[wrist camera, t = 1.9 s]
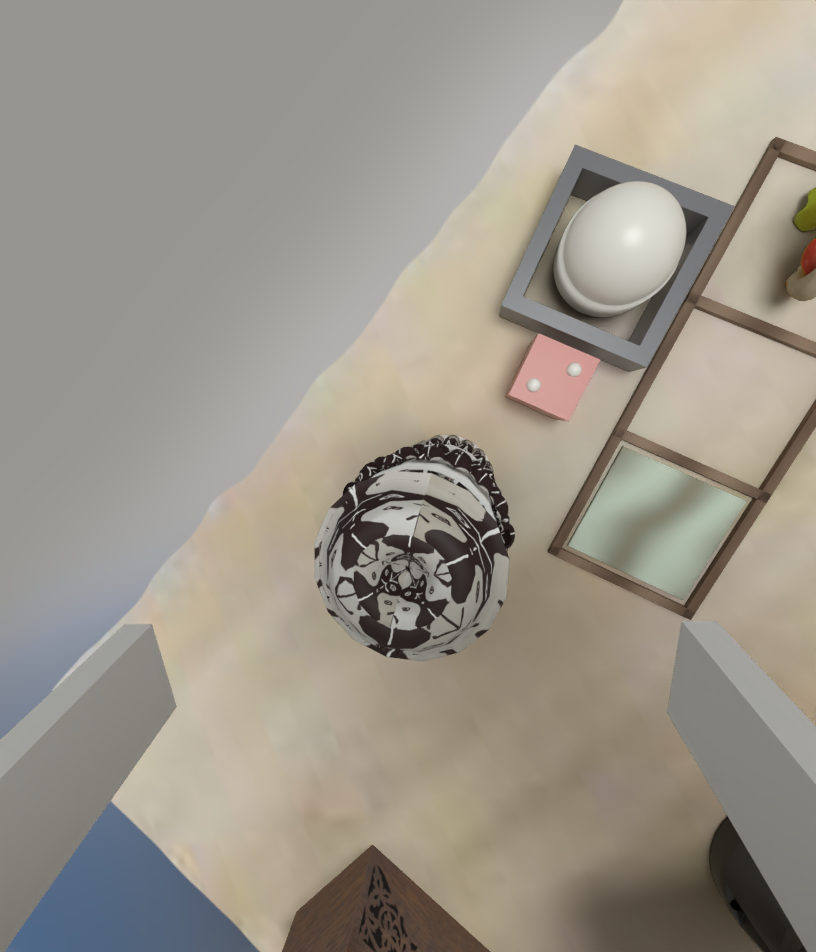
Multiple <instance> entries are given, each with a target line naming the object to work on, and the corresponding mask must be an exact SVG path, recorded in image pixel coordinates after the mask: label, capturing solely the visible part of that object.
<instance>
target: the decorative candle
mask: <svg viewBox="0 0 816 952" xmlns="http://www.w3.org/2000/svg"><path fill="white" fill-rule="evenodd" d="M507 514H508V505H507V502H506V500H505V498H504V497H503V496H502V494H501V491H500V489H499V488H498V487H497V485H496V483H495V479H494V474H493V468H492V465H491V463H490V462H489V460H488V457H487V456H486V455H485V453H484V452H483V451H482V450H481V449H480V448H479V447H478V446H477V445H476V444H475V443H473V442H471V441H470V440H467V439H465V438H462V437H460V436H456V435H437V436H434V437H433V438H431V439H429V440H426V441H421V442H419V443H418V444H416V445H413V446H412V447H403V448H401V449H399V450H397V451H396V452H395V453H393V454H391V455H387V456H386V457H378V458H377V459H375V461H374V462H370V463H368V464H366V465H365V466H364V467H363V469H362V470H361V471H360V473H359V476H358V477H357V478H356V479H355V481H354V482H350V483H348V484H347V485H346V486H345V488H344V491H343V496H342V497H341V498H340V499H339V500H338V501H337V502H336V503H335V504H334V505H332V506H331V507H330V508H329V510H328V512H327V514H326V517H325V519H324V521H323V524H322V526H321V529H320V531H319V533H318V536H317V538H316V540H315V580H316V582H317V585H318V588H319V590H320V593H321V595H322V598H323V600H324V603H325V605H326V608H327V610H328V612H329V613H330V614H331V616H332V617H333V618H334V619H335V620H336V621H337V622H338V623H339V624H340V625H341V627H342V628H343V629H344V630H345V631H346V632H347V633H348V634H349V635H350V636H351V638H352V639H353V640H355V641H357V642H359V643H361V644H363V645H365V646H367V647H369V648H371V649H373V650H374V651H376V652H378V653H380V654H382V655H384V656H386V657H393V658H401V659H409V660H417V661H427V660H431V659H435V658H438V657H442V656H446V655H450V654H454V653H458V652H460V651H461V650H463V649H464V648H465V647H467V646H468V645H469V644H471V643H472V642H473V641H475V640H476V639H477V638H479V637H480V636H481V635H483V634H484V633H485V632H487V631H488V630H489V628H490V626H491V625H492V623H493V621H494V619H495V617H496V615H497V614H498V612H499V610H500V608H501V606H502V605H503V603H504V601H505V599H506V597H507V584H508V570H509V557H508V554H507V551H508V548H509V547H510V546H511V545H512V544H513V542H514V538H515V531H514V528H513V526H512V525H511V524H509V516H508V515H507Z"/></svg>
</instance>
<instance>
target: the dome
mask: <svg viewBox="0 0 816 952" xmlns="http://www.w3.org/2000/svg"><path fill="white" fill-rule="evenodd" d="M685 240H686V222H685V217H684V213H683V211H682V208H681V206H680V205H679V203H678V201H677V200H676V199H675V197H674V196H673V195H672V194H671V193H670V192H669V191H667V190H666V189H664V188H662V187H660V186H658V185H656V184H653V183H649V182H642V181H633V182H625V183H621V184H618V185H615V186H613V187H610V188H608V189H606V190H604V191H602V192H601V193H599V194H597V195H596V196H594V197H592V198H591V199H590V200H588V201H587V202H586V203H585V204H584V205H582V206H581V207H580V208H579V210H578V211H577V212H576V213H575V214H574V216H573V217H572V219H571V220H570V222H569V224H568V226H567V228H566V230H565V232H564V234H563V236H562V238H561V240H560V242H559V245H558V247H557V250H556V253H555V257H554V264H553V272H554V279H555V283H556V286H557V289H558V291H559V293H560V294H561V296H562V298H563V299H564V300H565V301H566V302H567V303H568V304H569V305H570V306H571V307H572V308H574V309H575V310H576V311H578V312H580V313H582V314H585V315H588V316H593V317H612V316H617V315H620V314H623V313H626V312H628V311H630V310H632V309H633V308H635V307H637V306H638V305H640V304H641V303H643V302H644V301H646V300H647V299H649V298H650V297H652V296H653V295H654V294H656V293H657V292H658V291H659V290H660V289H661V288H662V287H663V286H664V285H665V284H666V283H667V282H668V280H669V279H670V278H671V276H672V275H673V273H674V271H675V269H676V267H677V265H678V263H679V260H680V258H681V255H682V252H683V249H684V245H685Z"/></svg>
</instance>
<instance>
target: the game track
mask: <svg viewBox="0 0 816 952" xmlns="http://www.w3.org/2000/svg"><path fill="white" fill-rule="evenodd" d="M777 157H780V158H783V159H786V160H789V161H791V162H794V163H797V164H799V165H802V166H805V167H807V168H810V169H813V170H815V171H816V151H813V150H810V149H808V148H805V147H802V146H799V145H797V144H794V143H791V142H789V141H786V140H783V139H781V138H778V137H775V138H774V139H773V140H772V141H771V143H770V145H769V146H768V148H767V150H766V152H765V154H764V156H763V157H762V159H761V161H760V163H759V165H758V167H757V168H756V170H755V172H754V174H753V176H752V178H751V179H750V181H749V183H748V185H747V187H746V189H745V190H744V192H743V194H742V196H741V198H740V200H739V201H738V203H737V205H736V207H735V209H734V211H733V212H732V214H731V216H730V218H729V220H728V222H727V223H726V225H725V227H724V229H723V231H722V233H721V234H720V236H719V238H718V240H717V242H716V244H715V245H714V247H713V249H712V251H711V253H710V255H709V256H708V258H707V260H706V262H705V264H704V266H703V267H702V269H701V271H700V273H699V275H698V277H697V278H696V280H695V282H694V284H693V286H692V288H691V289H690V291H689V293H688V295H687V297H686V299H685V300H684V302H683V304H682V306H681V308H680V310H679V311H678V313H677V315H676V317H675V319H674V321H673V322H672V324H671V326H670V328H669V330H668V332H667V333H666V335H665V337H664V339H663V341H662V343H661V344H660V346H659V348H658V350H657V352H656V354H655V355H654V357H653V359H652V361H651V363H650V365H649V366H648V368H647V370H646V372H645V374H644V375H643V377H642V379H641V381H640V383H639V385H638V386H637V388H636V390H635V392H634V394H633V396H632V397H631V399H630V401H629V403H628V405H627V407H626V408H625V410H624V412H623V414H622V416H621V418H620V419H619V421H618V423H617V425H616V427H615V429H614V430H613V432H612V434H611V436H610V438H609V440H608V441H607V443H606V445H605V447H604V449H603V451H602V452H601V454H600V456H599V458H598V460H597V462H596V463H595V465H594V467H593V469H592V471H591V473H590V474H589V476H588V478H587V480H586V482H585V484H584V485H583V487H582V489H581V491H580V493H579V495H578V496H577V498H576V500H575V502H574V504H573V506H572V507H571V509H570V511H569V513H568V515H567V517H566V518H565V520H564V522H563V524H562V526H561V528H560V529H559V531H558V533H557V535H556V537H555V539H554V540H553V542H552V544H551V546H550V548H549V550H548V552H549V553H550V554H553V555H555V556H557V557H559V558H561V559H563V560H565V561H567V562H569V563H572V564H574V565H576V566H578V567H580V568H582V569H584V570H586V571H588V572H591V573H593V574H595V575H597V576H599V577H601V578H603V579H605V580H607V581H609V582H612V583H614V584H616V585H618V586H620V587H622V588H624V589H626V590H628V591H631V592H633V593H635V594H637V595H639V596H641V597H643V598H645V599H647V600H650V601H652V602H654V603H656V604H658V605H660V606H662V607H664V608H666V609H668V610H671V611H673V612H675V613H677V614H679V615H681V616H683V617H685V618H687V619H690V620H691V619H692V617H693V616H694V614H695V613H696V611H697V609H698V608H699V606H700V605H701V603H702V602H703V600H704V599H705V597H706V596H707V594H708V593H709V591H710V589H711V588H712V586H713V585H714V583H715V582H716V580H717V579H718V577H719V576H720V574H721V572H722V571H723V569H724V568H725V566H726V565H727V563H728V562H729V560H730V559H731V557H732V555H733V554H734V552H735V551H736V549H737V548H738V546H739V545H740V543H741V542H742V540H743V539H744V537H745V535H746V534H747V532H748V531H749V529H750V528H751V526H752V525H753V523H754V522H755V520H756V518H757V517H758V515H759V514H760V512H761V511H762V509H763V508H764V506H765V505H766V503H767V501H768V500H769V498H770V497H771V495H772V494H773V492H774V491H775V489H776V488H777V486H778V485H779V483H780V481H781V480H782V478H783V477H784V475H785V474H786V472H787V471H788V469H789V468H790V466H791V464H792V463H793V461H794V460H795V458H796V457H797V455H798V454H799V452H800V451H801V449H802V447H803V446H804V444H805V443H806V441H807V440H808V438H809V437H810V435H811V434H812V432H813V431H814V429H815V427H816V401H815V402H814V404H813V405H812V407H811V409H810V410H809V412H808V413H807V415H806V416H805V418H804V420H803V421H802V423H801V424H800V426H799V427H798V429H797V430H796V432H795V434H794V435H793V437H792V438H791V440H790V441H789V443H788V445H787V446H786V448H785V449H784V451H783V452H782V454H781V456H780V457H779V459H778V460H777V462H776V463H775V465H774V466H773V468H772V470H771V471H770V473H769V474H768V476H767V477H766V479H765V481H764V482H763V484H762V485H761V487H760V488H759V489H758V488H756V487H753V486H751V485H749V484H746V483H744V482H742V481H740V480H737V479H735V478H733V477H731V476H728V475H726V474H724V473H722V472H719V471H717V470H715V469H713V468H710V467H708V466H706V465H703V464H701V463H699V462H697V461H694V460H692V459H690V458H688V457H685V456H683V455H681V454H679V453H676V452H674V451H672V450H670V449H667V448H665V447H663V446H660V445H658V444H656V443H654V442H651V441H649V440H647V439H645V438H642V437H640V436H638V435H636V434H633V433H631V432H629V431H627V428H628V427H629V425H630V423H631V421H632V419H633V418H634V416H635V414H636V412H637V410H638V408H639V407H640V405H641V403H642V401H643V399H644V398H645V396H646V394H647V392H648V390H649V389H650V387H651V385H652V383H653V381H654V379H655V378H656V376H657V374H658V372H659V370H660V369H661V367H662V365H663V363H664V361H665V360H666V358H667V356H668V354H669V352H670V351H671V349H672V347H673V345H674V343H675V341H676V340H677V338H678V336H679V334H680V332H681V331H682V329H683V327H684V325H685V323H686V322H687V320H688V318H689V316H690V314H691V313H692V311H693V309H694V308H697V309H699V310H702V311H704V312H707V313H709V314H711V315H714V316H716V317H719V318H721V319H724V320H726V321H728V322H731V323H733V324H736V325H738V326H741V327H743V328H746V329H748V330H750V331H753V332H755V333H758V334H760V335H763V336H765V337H767V338H770V339H772V340H775V341H777V342H780V343H782V344H784V345H787V346H789V347H792V348H794V349H797V350H799V351H802V352H804V353H806V354H809V355H811V356H814V357H816V342H814V341H811V340H809V339H806V338H804V337H801V336H799V335H796V334H794V333H792V332H789V331H787V330H784V329H782V328H779V327H777V326H774V325H772V324H769V323H767V322H765V321H762V320H760V319H757V318H755V317H752V316H750V315H747V314H745V313H742V312H740V311H738V310H735V309H733V308H730V307H728V306H725V305H723V304H720V303H718V302H715V301H713V300H711V299H708V298H706V297H703V296H701V294H702V293H703V291H704V289H705V287H706V285H707V284H708V282H709V280H710V278H711V276H712V274H713V273H714V271H715V269H716V267H717V265H718V264H719V262H720V260H721V258H722V256H723V255H724V253H725V251H726V249H727V247H728V246H729V244H730V242H731V240H732V238H733V236H734V235H735V233H736V231H737V229H738V227H739V226H740V224H741V222H742V220H743V218H744V217H745V215H746V213H747V211H748V209H749V208H750V206H751V204H752V202H753V200H754V198H755V197H756V195H757V193H758V191H759V189H760V188H761V186H762V184H763V182H764V180H765V179H766V177H767V175H768V173H769V171H770V169H771V168H772V166H773V164H774V162H775V160H776V159H777ZM621 439H622V440H624V441H626V442H629V443H631V444H633V445H635V446H638V447H640V448H642V449H644V450H647V451H649V452H651V453H653V454H656V455H658V456H660V457H662V458H665V459H667V460H669V461H671V462H674V463H676V464H678V465H680V466H683V467H685V468H687V469H689V470H692V471H694V472H696V473H698V474H701V475H703V476H705V477H707V478H710V479H712V480H714V481H716V482H719V483H721V484H723V485H725V486H728V487H730V488H732V489H735V490H737V491H739V492H741V493H744V494H746V495H748V496H750V497H753V499H752V501H751V502H750V504H749V506H748V507H747V509H746V510H745V512H744V513H743V515H742V517H741V518H740V520H739V521H738V523H737V524H736V526H735V527H734V529H733V531H732V532H731V534H730V535H729V537H728V538H727V540H726V542H725V543H724V545H723V546H722V548H721V549H720V551H719V552H718V554H717V556H716V557H715V559H714V560H713V562H712V563H711V565H710V567H709V568H708V570H707V571H706V573H705V574H704V576H703V577H702V579H701V581H700V582H699V584H698V585H697V587H696V588H695V590H694V592H693V593H692V595H691V596H690V598H689V599H688V601H687V603H686V604H685V606H683V605H681V604H679V603H677V602H675V601H673V600H671V599H668V598H666V597H664V596H662V595H660V594H658V593H656V592H654V591H651V590H649V589H647V588H645V587H643V586H641V585H639V584H637V583H635V582H632V581H630V580H628V579H626V578H624V577H622V576H620V575H618V574H615V573H613V572H611V571H609V570H607V569H605V568H603V567H601V566H599V565H596V564H594V563H592V562H590V561H588V560H586V559H584V558H582V557H579V556H577V555H575V554H573V553H571V552H569V551H567V550H565V549H563V548H562V546H563V544H564V542H565V541H566V539H567V537H568V535H569V533H570V532H571V530H572V528H573V526H574V524H575V523H576V521H577V519H578V517H579V515H580V513H581V512H582V510H583V508H584V506H585V504H586V503H587V501H588V499H589V497H590V495H591V494H592V492H593V490H594V488H595V486H596V484H597V483H598V481H599V479H600V477H601V475H602V474H603V472H604V470H605V468H606V466H607V465H608V463H609V461H610V459H611V457H612V456H613V454H614V452H615V450H616V448H617V446H618V445H619V443H620V441H621ZM745 503H746V501H745V500H743V499H740V498H738V497H736V496H734V495H731V494H729V493H727V492H725V491H722V490H720V489H718V488H716V487H713V486H711V485H709V484H707V483H704V482H702V481H700V480H698V479H695V478H693V477H691V476H689V475H686V474H684V473H682V472H680V471H677V470H675V469H673V468H671V467H668V466H666V465H664V464H662V463H659V462H657V461H655V460H653V459H650V458H648V457H646V456H644V455H641V454H639V453H637V452H635V451H632V450H630V449H628V448H626V447H623V446H622V448H621V450H620V451H619V453H618V455H617V457H616V459H615V460H614V462H613V464H612V466H611V468H610V469H609V471H608V473H607V475H606V477H605V478H604V480H603V482H602V484H601V486H600V487H599V489H598V491H597V493H596V495H595V496H594V498H593V500H592V502H591V504H590V505H589V507H588V509H587V511H586V513H585V514H584V516H583V518H582V520H581V522H580V523H579V525H578V527H577V529H576V531H575V532H574V534H573V536H572V538H571V540H570V541H569V543H568V546H569V547H571V548H574V549H576V550H578V551H580V552H582V553H584V554H586V555H588V556H591V557H593V558H595V559H597V560H599V561H601V562H603V563H605V564H608V565H610V566H612V567H614V568H616V569H618V570H620V571H622V572H624V573H627V574H629V575H631V576H633V577H635V578H637V579H639V580H641V581H644V582H646V583H648V584H650V585H652V586H654V587H656V588H658V589H661V590H663V591H665V592H667V593H669V594H671V595H673V596H675V597H678V598H680V599H682V600H684V599H685V597H686V595H687V594H688V592H689V591H690V589H691V588H692V586H693V585H694V583H695V581H696V580H697V578H698V577H699V575H700V574H701V572H702V570H703V569H704V567H705V566H706V564H707V563H708V561H709V559H710V558H711V556H712V555H713V553H714V552H715V550H716V548H717V547H718V545H719V544H720V542H721V541H722V539H723V537H724V536H725V534H726V533H727V531H728V530H729V528H730V526H731V525H732V523H733V522H734V520H735V519H736V517H737V515H738V514H739V512H740V511H741V509H742V508H743V506H744V504H745Z"/></svg>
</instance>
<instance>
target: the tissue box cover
mask: <svg viewBox="0 0 816 952" xmlns="http://www.w3.org/2000/svg"><path fill="white" fill-rule="evenodd" d="M282 952H490V951H489V950H488V949H487V948H486V947H484V946H483V945H482V944H481V943H480V942H479V941H478V940H477V939H476V938H475V937H473V936H472V935H471V934H470V933H469V932H468V931H467V930H466V929H465V928H464V927H463V926H461V925H460V924H459V923H458V922H457V921H456V920H455V919H454V918H453V917H452V916H450V915H449V914H448V913H447V912H446V911H445V910H444V909H443V908H442V907H441V906H439V905H438V904H437V903H436V902H435V901H434V900H433V899H432V898H431V897H430V896H428V895H427V894H426V893H425V892H424V891H423V890H422V889H421V888H420V887H419V886H418V885H416V884H415V883H414V882H413V881H412V880H411V879H410V878H409V877H408V876H407V875H405V874H404V873H403V872H402V871H401V870H400V869H399V868H398V867H397V866H396V865H394V864H393V863H392V862H391V861H390V860H389V859H388V858H387V857H386V856H385V855H383V854H382V853H381V852H380V851H379V850H378V849H377V848H376V847H375V846H374V845H372V846H371V847H370V848H368V849H367V850H366V851H365V852H364V853H363V854H362V855H360V856H359V857H358V858H357V859H356V860H355V861H354V862H353V863H351V864H350V865H349V866H348V867H347V868H346V869H345V870H343V871H342V872H341V873H340V874H339V875H338V876H337V877H335V878H334V879H333V880H332V881H331V882H330V883H329V884H328V885H326V886H325V887H324V888H323V889H322V890H321V891H320V892H318V893H317V894H316V895H315V896H314V897H313V898H312V899H310V900H309V901H308V902H307V903H306V904H305V905H304V906H303V907H301V908H300V909H299V910H298V911H297V912H296V915H295V918H294V920H293V923H292V926H291V929H290V931H289V934H288V937H287V940H286V942H285V945H284V948H283V950H282Z"/></svg>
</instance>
